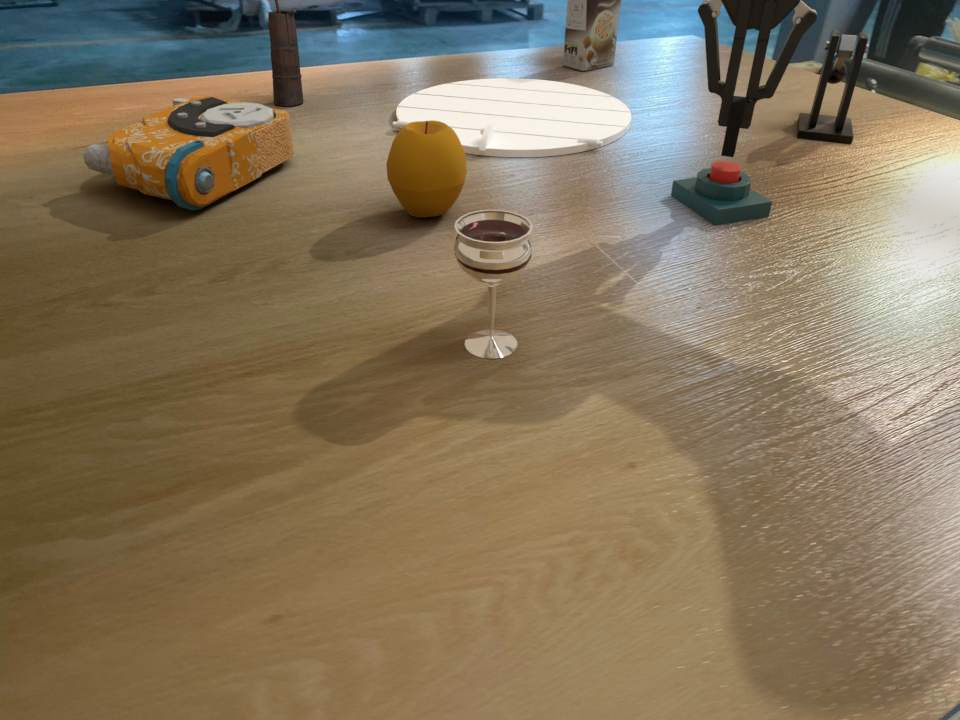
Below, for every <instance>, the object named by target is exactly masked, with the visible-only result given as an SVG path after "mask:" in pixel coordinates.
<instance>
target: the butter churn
mask: <svg viewBox="0 0 960 720" xmlns="http://www.w3.org/2000/svg"><path fill="white" fill-rule="evenodd" d="M274 4H275V8H276V10H272V11H268V12H267V14H268V34H269V41H270V46H269V49H270V61H271V75H272V76H271V77H272V95H273V104H274V105H277V106H284V107H291V106H298V105H302V104H303V103H304V101H305V100H304V93H303V83H302V77H303V75H302V73H301V66H300V65H301V64H300V62H301V61H300V53H299V52H300V51H299V43H298V33H297V31H298V30H297V26H296V20H295V15H296V14H297V10H295V9H294V10H291V11H290V10H286V9H285V10H284V9H281V8H280V7H281V6H280V3H279V0H274Z"/></svg>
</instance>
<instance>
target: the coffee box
mask: <svg viewBox="0 0 960 720" xmlns="http://www.w3.org/2000/svg"><path fill="white" fill-rule="evenodd" d="M566 3H567V5H566V17H565V29H564V43H563V53H562V55H563V56H562V66H563V67H567V68H571V69H574V70H577V71H581V72H587V71H591V70H597V69H601V68H607V67H611V66H614V65H615V59H616V50H617V42H618V41H617V40H618V33H619V23H620V14H621V6H622V0H567V2H566Z"/></svg>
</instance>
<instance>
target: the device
mask: <svg viewBox="0 0 960 720" xmlns="http://www.w3.org/2000/svg"><path fill="white" fill-rule="evenodd" d="M107 143H108V144H107V145H103V144H97V143H96V144H95V143H93V144H90V145H89V146H87V147H86V149H85V150H84V153H83V162H84V164H85V165H86V166H87V168H88V169H89V170H92V171H95V172H97V173H102V174H109V175H111V176H114V178H115V180H116V184H117V185H119V186H121V187H125V188H129V189H133V190H138V191H139V192H140V193H142V194H143V195H147V196H151V197H155V198H160V199H164V200H168V201H169V200H170V201H173V202H174V204H175V205H176V206H177V207H179V208H182V209H184V210H185V209H186V210H189V211H199V210H202V209H205V208H206V207H208V206H209V205H211V204H213V203H215V202H216V201H217V200H220V199H221V198H223V197H225V196H227V195H228V194H231V193H232V192H235V191H237V190H238V189H240V188H242V187H244V186H246V185H248V184H250V183H251V182H253V181H255V180H257V179H259V178H261V177H262V175H263V174H265V173H267V172H269V171H271V170H273V169H274V168H276V167H278V166H279V165H281V164H283V163H285V162H286V161H288V160H291V159H292V158H293V157H294V154H295V153H294V151H295V150H294V144H293V137H292V130H291V122H290V115H289V113H288V112H287V111H286V110H284V109H278V108H272V107H270V106H267V105H265V104H261V103H256V102H247V101H241V100H234V99H228V98H223V97H217V96H211V95H203V94H202V95H197V96H193V97H191V98H190V99H187V98H180V97H177V98H174V99H172V106H169V107H167V108H165V109H162V110H159V111H156V112H153V113H151V114H148V115H146V116H143V117H142V120H141V121H139V122H136V123H133V124H130V125H128V126H125V127H123V128H119V129H118V130H115V131H114V132H110V133H109V132H108V139H107Z"/></svg>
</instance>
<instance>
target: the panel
mask: <svg viewBox="0 0 960 720" xmlns="http://www.w3.org/2000/svg"><path fill="white" fill-rule="evenodd" d="M710 170H711V167H709V168H703V169H701V170H700V171H698V172H697V173H696V177H695V176H694V177H688V178H682V179H675V180H672V185H671V192H670V196H671V197H672V198H673V199H675V200H676V201H678V202H679V203H681V204H682V205H684V206H685V207H686V208H688V209H689V210H691V211H692V212H694V213H695V214H696V215H698V216H699V217H701V218H702V219H704V220H705V221H707V222H708V223H710V224H711V225H712V226H715V227H716V226H717V227H718V226H722V225H729V224H734V223H741V222H746V221H754V220H759V219H764V218H769V217H770V213H771V210H772V204H773V200H771V199H769V198H768V197H766V196H764V195H763V194H761V193H759V192H757V191H755V190H754V189H752V188H751V186H752V179H751V176H750V175H748V174H747V173H745V172H743V171H741V172H740V176H739V181H738V182H737V183H731V184H729V183H719V182H716V181H712V180H711V179H709V175H710Z"/></svg>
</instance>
